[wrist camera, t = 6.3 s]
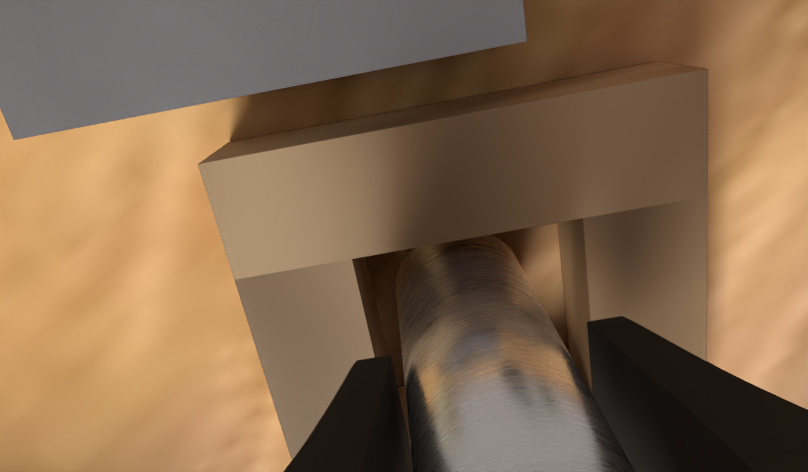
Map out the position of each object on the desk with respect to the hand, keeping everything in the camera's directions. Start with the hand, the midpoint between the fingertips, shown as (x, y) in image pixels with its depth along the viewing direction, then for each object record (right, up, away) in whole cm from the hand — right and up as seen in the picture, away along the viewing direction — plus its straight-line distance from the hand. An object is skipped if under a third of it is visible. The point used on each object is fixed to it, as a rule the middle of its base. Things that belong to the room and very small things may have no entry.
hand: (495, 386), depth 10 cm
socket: (0, +1, +3) cm, 4 cm away
